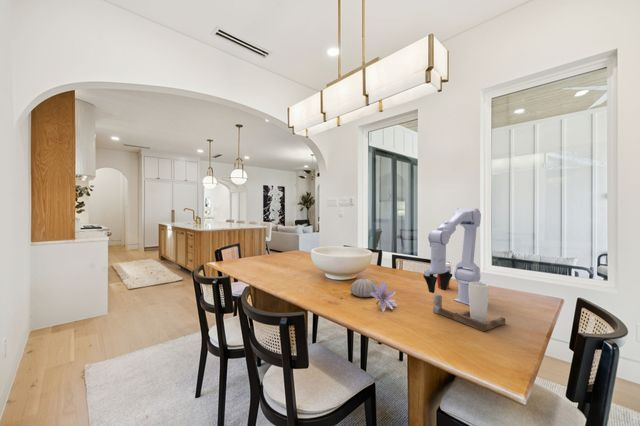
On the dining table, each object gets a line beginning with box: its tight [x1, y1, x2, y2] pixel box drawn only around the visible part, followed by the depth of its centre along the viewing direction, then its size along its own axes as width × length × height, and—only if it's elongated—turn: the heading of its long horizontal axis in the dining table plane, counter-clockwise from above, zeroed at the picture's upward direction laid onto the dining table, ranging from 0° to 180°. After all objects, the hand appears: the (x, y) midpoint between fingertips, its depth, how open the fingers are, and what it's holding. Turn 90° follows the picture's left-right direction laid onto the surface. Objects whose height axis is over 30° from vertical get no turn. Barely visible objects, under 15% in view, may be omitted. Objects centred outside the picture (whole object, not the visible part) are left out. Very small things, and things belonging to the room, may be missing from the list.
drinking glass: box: [468, 281, 490, 323], centre depth 104 cm, size 7×7×15 cm
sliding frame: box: [432, 293, 506, 333], centre depth 109 cm, size 15×22×7 cm
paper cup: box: [436, 261, 452, 290], centre depth 151 cm, size 8×8×14 cm
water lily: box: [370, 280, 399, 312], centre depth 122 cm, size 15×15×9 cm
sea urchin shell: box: [349, 278, 377, 298], centre depth 138 cm, size 13×14×8 cm
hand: (437, 291), depth 114 cm, fingers open, 7 cm apart
